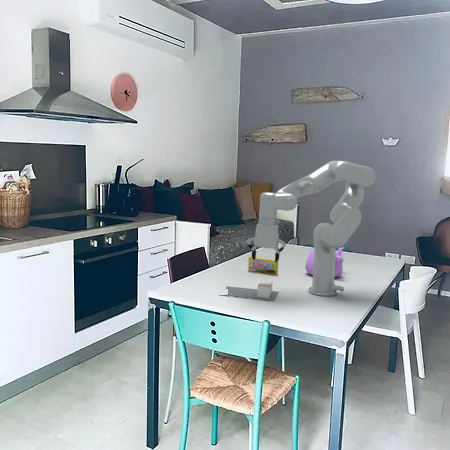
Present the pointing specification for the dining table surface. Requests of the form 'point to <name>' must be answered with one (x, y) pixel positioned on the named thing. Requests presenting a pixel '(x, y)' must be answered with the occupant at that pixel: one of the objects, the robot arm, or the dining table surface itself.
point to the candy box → (263, 266)
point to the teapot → (337, 263)
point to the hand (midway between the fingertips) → (265, 260)
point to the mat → (249, 293)
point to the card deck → (264, 289)
